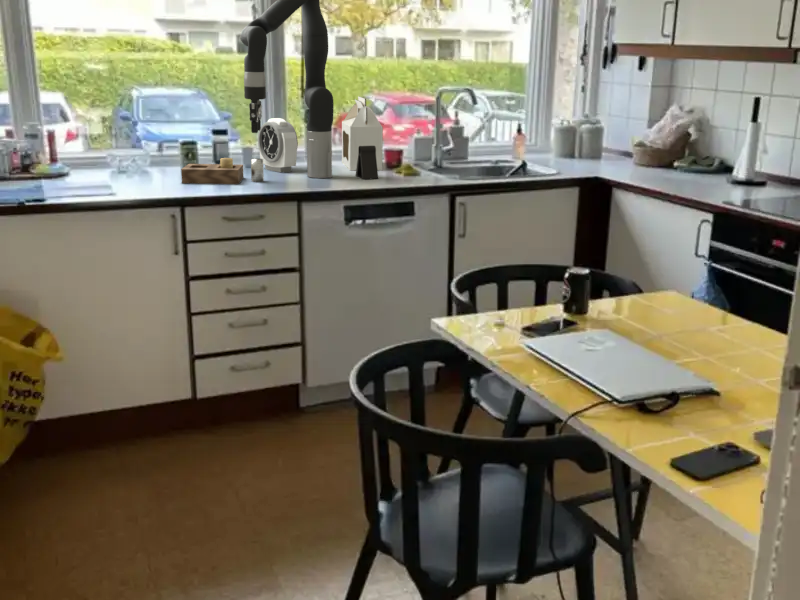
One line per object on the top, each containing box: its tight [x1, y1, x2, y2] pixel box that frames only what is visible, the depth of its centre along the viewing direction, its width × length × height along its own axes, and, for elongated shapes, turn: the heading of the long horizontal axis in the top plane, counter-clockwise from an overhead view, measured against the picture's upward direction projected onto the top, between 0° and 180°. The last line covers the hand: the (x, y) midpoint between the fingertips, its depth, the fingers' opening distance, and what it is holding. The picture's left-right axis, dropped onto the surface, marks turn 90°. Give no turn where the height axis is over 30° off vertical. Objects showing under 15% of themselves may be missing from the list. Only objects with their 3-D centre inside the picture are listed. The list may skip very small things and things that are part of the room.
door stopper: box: [355, 146, 379, 181], centre depth 325 cm, size 9×6×12 cm, turn 22°
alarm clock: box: [257, 117, 299, 173], centre depth 337 cm, size 18×8×20 cm, turn 42°
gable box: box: [341, 96, 384, 172], centre depth 350 cm, size 22×13×28 cm, turn 12°
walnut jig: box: [180, 157, 245, 185], centre depth 311 cm, size 20×14×8 cm
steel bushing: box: [250, 157, 265, 183], centre depth 312 cm, size 4×4×8 cm
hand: (256, 131), depth 308 cm, fingers open, 8 cm apart
